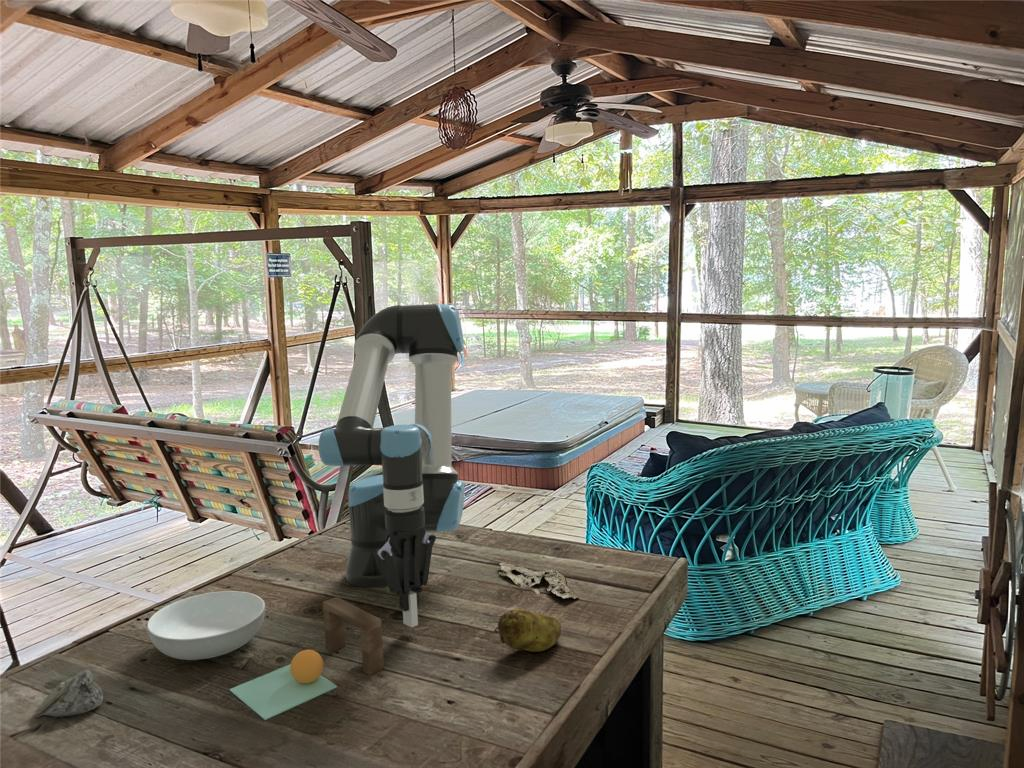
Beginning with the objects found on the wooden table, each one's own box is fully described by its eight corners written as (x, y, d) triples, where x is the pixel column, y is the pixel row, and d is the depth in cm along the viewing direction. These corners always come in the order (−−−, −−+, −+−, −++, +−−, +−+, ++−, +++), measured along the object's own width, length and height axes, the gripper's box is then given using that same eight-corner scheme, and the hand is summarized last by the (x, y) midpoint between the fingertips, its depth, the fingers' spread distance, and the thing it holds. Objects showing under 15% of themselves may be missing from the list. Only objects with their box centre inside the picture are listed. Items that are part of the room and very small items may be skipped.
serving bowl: (152, 686, 128) (148, 649, 127) (148, 638, 147) (145, 605, 146) (276, 655, 138) (273, 620, 137) (258, 613, 156) (255, 582, 155)
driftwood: (595, 579, 162) (585, 564, 159) (572, 618, 156) (561, 603, 154) (513, 563, 180) (503, 549, 177) (489, 597, 174) (479, 583, 172)
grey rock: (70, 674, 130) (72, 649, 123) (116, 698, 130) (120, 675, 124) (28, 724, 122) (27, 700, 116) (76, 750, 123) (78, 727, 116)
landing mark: (229, 690, 126) (229, 689, 126) (299, 661, 135) (298, 660, 135) (265, 720, 117) (265, 719, 117) (337, 687, 126) (337, 686, 126)
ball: (313, 644, 132) (308, 675, 131) (287, 647, 127) (281, 679, 127) (332, 653, 128) (326, 685, 128) (305, 656, 124) (299, 690, 123)
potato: (572, 653, 135) (571, 611, 134) (505, 666, 131) (503, 623, 130) (556, 633, 143) (555, 593, 142) (492, 645, 139) (490, 604, 138)
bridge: (369, 675, 129) (366, 625, 128) (326, 648, 140) (322, 601, 138) (383, 668, 131) (380, 619, 130) (339, 642, 142) (336, 596, 141)
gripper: (387, 518, 134) (394, 642, 137) (443, 502, 143) (448, 618, 146) (364, 511, 139) (371, 629, 142) (419, 495, 148) (425, 607, 151)
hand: (410, 624), depth 144 cm, fingers closed
